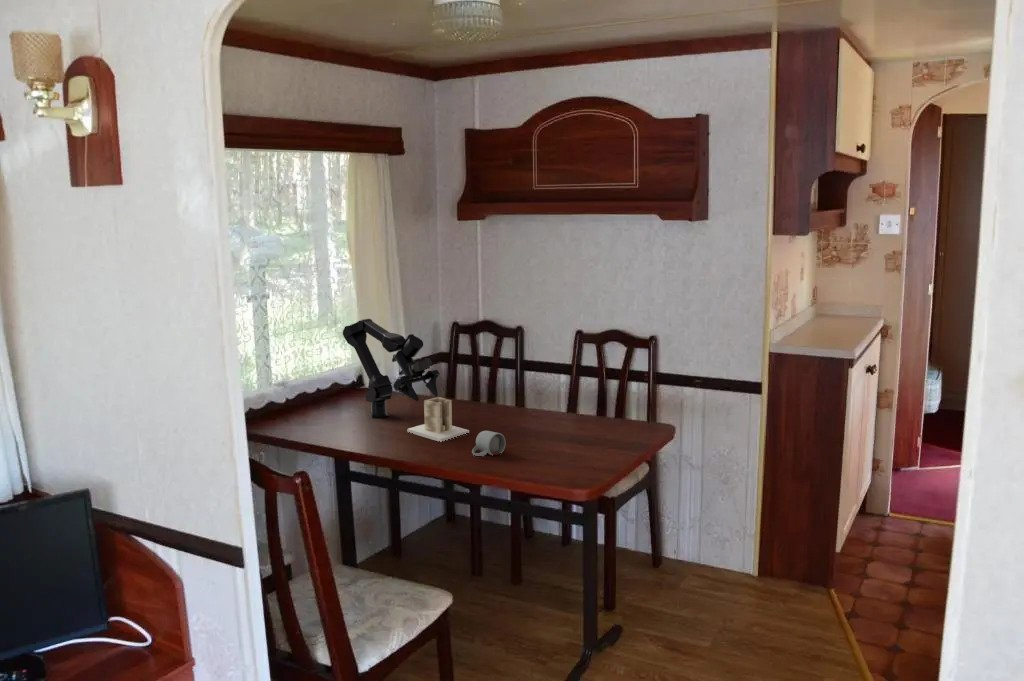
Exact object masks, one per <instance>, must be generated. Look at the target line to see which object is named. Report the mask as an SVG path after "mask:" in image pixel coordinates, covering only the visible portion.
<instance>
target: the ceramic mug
mask: <svg viewBox="0 0 1024 681" xmlns="http://www.w3.org/2000/svg"><path fill="white" fill-rule="evenodd" d="M505 448H506V438H505V436H504V435H503V433H500V432H496V431H495V432H494V431H491V430H482V431H480V432H479V433H478V434H477V435H476V438H475V446H474V447H473V448H472V450H471V453H472V455H473V456H474V455H475V456H482V457H485V456H486V455H487V453H488V455H489V456H493V454H492V453H491V452H499V453H501V454H502V453H503V452H504V451H505ZM477 451H480V452H478V453H477ZM475 456H474V457H475Z"/></svg>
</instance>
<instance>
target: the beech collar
mask: <svg viewBox="0 0 1024 681" xmlns="http://www.w3.org/2000/svg"><path fill="white" fill-rule="evenodd" d="M452 401H453V400H452V399H449V398H444V397H440V396H437V397H433V398H429V399H424V401H423V408H424V409H423V411H424V413H423V414H424V415H423V416H424V420H423V421H424V424H425V430H427V431H430V432H434V433H437V434H438V433H442V425H445V430H446V431H448V430H452V426H453V416H452V415H453V414H452V412H453V410H452V406H453V405H452Z"/></svg>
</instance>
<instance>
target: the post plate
mask: <svg viewBox="0 0 1024 681" xmlns="http://www.w3.org/2000/svg"><path fill="white" fill-rule="evenodd" d="M406 431H407V433H409V432H410V434H412V433H413V435H416V436H419V437H423V438H426V439H429V440H433V441H437V442H439V441H440V443H442V441H443V442H446V441H449V440H448V439H450V440H452V439H451V438H453V439H455V438H454V437H456V438H458V437H457V436H460V435H463V434H466V433H469V434H470V430H469V429H466V428H462V427H458V426H455V425H452V430H448V431H446V430H445V425H442V433H438V434H437V433H434V432H430V431H427V430H425V423H423V424H419V425H416V426H413V427H409V428H407V429H406ZM466 435H467V434H466ZM463 436H464V435H463ZM460 437H461V436H460ZM445 440H446V441H445Z"/></svg>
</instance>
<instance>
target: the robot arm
mask: <svg viewBox="0 0 1024 681" xmlns="http://www.w3.org/2000/svg"><path fill="white" fill-rule="evenodd" d="M367 334H368V335H370V336H371V337H373V338H374V339H376V340H377V341H378V342H379V343H381V345H382V348H383V349H384V350H386V351H387V352H388V353H395V352H396V353H395V354H392V358H391V362H392V363H394V362H395V363H396V362H397V363H396V364H397V365H398V366H399V367H400V369H401V370H400V374H401V375H402V376H398V378H396V380H395V381H394V383H392V382H391V380H390V378H389V375H388V374H386V375H384V374H382V373H381V372H380V369H379V367H378V365H377V362H376V361H375V359H374V357H373V354H372V353H371V350H370V349H369V346H368V344H367ZM342 336H343V337H344V339H345V341H346V343H347V344H348V345H350V346H351V347H352V348H354V350H355V352H356V355H357V356H358V359H359V360H360V363H361V365H362V367H363V369H364V371H365V374H366V375H367V377H368V391H367V393H366V394H365V396H364V398H365V401H366V402H368V403H370V410H371V412H369V413H368V414H369V416H370V417H371V418H372V419H374V418H375V419H376V418H386V416H388V417H389V414H388V413H387V400H391V399H392V394H393V389H394V391H395V392H399V393H401V394H404V395H405V396H407V397H409V398H410V399H413V400H414V402H417V403H418V402H419V401H420V399H419V396H418V395H417V393H416V391H415V389H414V388H413V384H415V383H418V382H419V383H420V382H423V383H424V384H425V387H426V388H427V389H428V390H429V392H430V393H431V394H432V395H433V396H434V398H436V397H439V393H438V389H437V388H438V387H437V382H436V381H437V380H438V378H439V376H440V372H439V371H438V369H436V368H435V369H434V368H433V369H431V366H433V362H432V360H431V359H430V357H426V358H425V359H423V360H421V361H417V360H416V361H415V360H414V357H416V355H418V353H419V352H420V351H421V350H422V348H423V347H424V341H423V340H422V339H421V338H420V337H418V336H416V335H415V334H414V333H411V334H408V335H407V337H406V338H405V337H404V336H403V335H401V334H398V333H395V332H394V333H393V332H390V331H388V330H386V328H384V327H382V326H380V325H379V324H377V323H376V322H374V320H373V319H371V318H364V319H360V320H358V321H356V322H355V323H352V324H350V325H345V326H344V328H343V329H342ZM428 369H429V370H428ZM426 370H428V371H426ZM425 372H426V373H425ZM424 373H425V374H424Z"/></svg>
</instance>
